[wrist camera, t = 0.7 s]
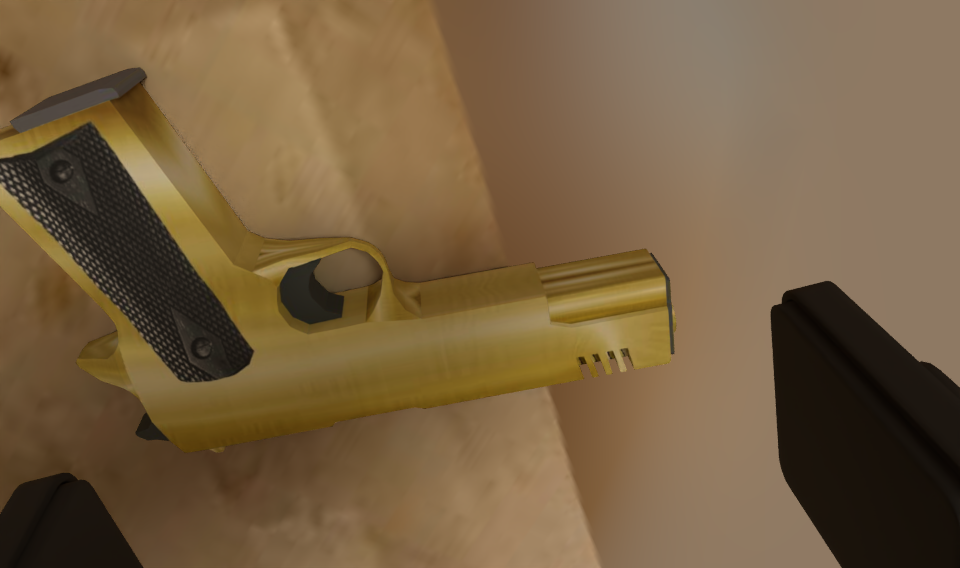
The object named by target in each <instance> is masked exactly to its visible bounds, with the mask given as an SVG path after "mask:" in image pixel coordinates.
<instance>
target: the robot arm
mask: <svg viewBox="0 0 960 568" xmlns="http://www.w3.org/2000/svg"><path fill="white" fill-rule="evenodd" d="M771 331H772V347H773V365H774V381H775V398H776V415H777V432H778V449H779V460H780V465H781V469H782V472H783V475H784V477H785V480H786V482H787V484H788V485H789V487H790V488H791V490H792V492H793V493H794V495H795V496H796V498H797V499H798V501H799V503H800V504H801V506H802V507H803V509H804V510H805V512H806V513H807V515H808V516H809V518H810V519H811V521H812V523H813V524H814V526H815V527H816V529H817V530H818V532H819V533H820V535H821V536H822V538H823V539H824V541H825V543H826V544H827V546H828V547H829V549H830V550H831V552H832V553H833V555H834V556H835V558H836V560H837V561H838V562H839V564H840V566H841V567H842V568H960V387H958V386H957V385H956V384H955V383H954V382H953V381H952V380H951V379H949V377H947V376H946V375H945V374H944V373H943V372H942V371H941V370H939V369H938V368H937V367H935V366H934V365H932V364H931V363H927V362H922V361H921V362H919V361H917V360H916V359H915V358H914V357H913V356H912V355H911V354H910V353H909V352H908V351H907V350H906V349H904V348H903V347H902V346H901V345H900V344H899V343H898V342H897V341H896V340H895V339H894V338H893V337H892V336H890V335H889V334H888V333H887V332H886V331H885V330H884V329H883V328H882V327H881V326H880V325H878V324H877V323H876V322H875V321H874V320H873V319H872V318H871V317H870V316H869V315H868V314H866V312H865V311H863V310H862V309H861V308H860V307H859V306H858V305H857V304H856V303H855V302H854V301H853V300H851V299H850V298H849V297H848V296H847V295H846V294H845V293H844V292H843V291H842V290H841V289H840V288H839V287H837V286H836V285H835V284H834V283H832V282H831V281H824V282H820V283H817V284H813V285H809V286H805V287H801V288H797V289H793V290H789V291H786V292H785V293H784V294H783V297H782V304H778V305H774V306H773V307H772V309H771ZM0 568H143V566H142V565H141V563H140V562H139V560H138V558H137V557H136V555H135V554H134V552H133V550H132V549H131V547H130V546H129V544H128V542H127V541H126V539H125V538H124V536H123V535H122V533H121V531H120V530H119V528H118V527H117V525H116V523H115V522H114V520H113V519H112V517H111V515H110V514H109V512H108V511H107V509H106V507H105V506H104V504H103V503H102V501H101V500H100V498H99V496H98V495H97V493H96V492H95V490H94V488H93V487H92V486H91V484H90V483H89V482H87V481H86V480H78V479H77V478H76V477H75V476H73V475H72V474H70V473H61V474H57V475H53V476H49V477H45V478H41V479H37V480H33V481H29V482H25V483H23V484H21V485H19V486H18V487H17V489H16V490H15V491H14V492H13V494H12V496H11V497H10V499H9V501H8V502H7V504H6V506H5V507H4V509H3V511H2V512H1V514H0Z"/></svg>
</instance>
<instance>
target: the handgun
mask: <svg viewBox="0 0 960 568" xmlns="http://www.w3.org/2000/svg"><path fill="white" fill-rule="evenodd" d="M145 77H146V74H145V72H144V71H143V70H142V69H141V68H131V69H126V70H123V71H121V72H118V73H115V74H112V75H110V76H107V77H104V78H101V79H99V80H96V81H93V82H90V83H87V84H85V85H82V86H79V87H76V88H74V89H71V90H68V91H65V92H62V93H60V94H57V95H54V96H51V97H49V98H47V99H45V100H44V101H42V102H40V103H39V104H37V105H36V106H34V107H32V108H31V109H29V110H27V111H26V112H24V113H23V114H21V115H19V116H18V117H16V118H15V119H13V120H11V121H10V123H11V124H12V125H10V126H7V127H5V128H2V129H0V206H1V207H2V208H3V209H4V210H5V211H6V212H7V213H8V214H9V215H10V216H11V217H12V218H13V219H14V220H15V222H16V223H17V224H18V225H19V226H20V227H21V228H22V229H23V230H24V231H25V232H26V233H27V234H28V235H29V236H30V237H31V238H32V239H33V240H34V241H35V242H36V243H37V244H38V245H39V246H40V247H41V248H42V249H43V250H44V251H45V252H46V253H47V254H48V255H49V256H50V257H51V258H52V259H53V260H54V261H55V262H56V263H57V264H58V265H59V266H60V267H61V268H62V269H63V270H64V271H65V272H66V273H67V274H68V275H69V276H70V277H71V278H72V279H73V280H74V281H75V282H76V283H77V284H78V285H79V286H80V287H81V288H82V289H83V290H84V291H85V292H86V293H87V294H88V295H89V296H90V297H91V298H92V299H93V300H94V301H95V302H96V303H97V304H98V305H99V306H100V307H101V308H102V309H103V310H104V311H105V312H106V314H107V315H108V316H109V317H110V318H111V319H112V321H113V322H114V323H115V326H116V329H117V331H116V332H114V333H112V334H109V335H106V336H104V337H101V338H99V339H96V340H93V341H91V342H88V344H87V345H86V346H85V347H84V348H83V350H82V351H81V353H80V355H79V357H78V359H77V361H76V364H77V365H78V366H79V367H80V368H81V369H83V370H84V371H86V372H88V373H89V374H91V375H93V376H94V377H96V378H97V379H99V380H101V381H103V382H106V383H109V384H112V385H115V386H118V387H121V388H123V389H126V390H128V391H130V392H131V393H132V394H133V395H135V396H136V397H137V398H138V399H139V400H140V401H141V402H142V404H143V406H144V408H145V410H146V413H145V414H144V416H143V418H142V420H141V422H140V424H139V426H138V428H137V430H136V432H135V433H136V435H137V436H138V437H140V438H143V439H145V440H155V439H157V440H166V441H171V442H172V443H173V444H174V445H176V446H177V447H178V448H179V449H181V450H182V451H183V452H184V453H188V452H195V451H202V450H212V451H214V452H216V453H218V452H224V450H225V447H226V446H230V445H236V444H241V443H246V442H252V441H257V440H262V439H268V438H273V437H278V436H284V435H289V434H294V433H300V432H305V431H310V430H316V429H321V428H326V427H332V426H333V425H334V423H335V422H339V421H344V420H349V419H355V418H360V417H366V416H371V415H376V414H382V413H387V412H392V411H398V410H403V409H409V408H414V407H417V408H423V409H426V408H432V407H437V406H442V405H448V404H453V403H458V402H464V401H469V400H475V399H480V398H485V397H491V396H496V395H501V394H507V393H512V392H517V391H523V390H528V389H533V388H539V387H544V386H549V385H555V384H560V383H566V382H571V381H576V380H582V379H584V377H583V374H582V371H581V369H580V366H579V365H582V364H587V365H588V367H589V370H590V372H591V375H592V377H597V376H598V373H597V370H596V368H595V365H594V363H593V362H598V361H601V363H602V365H603V368H604V370H605V372H606V374H607V375H608V374H612V371H611V368H610V365H609V362H608V360H609V359H614V358H615V360H616V362H617V364H618V366H619V369H620V371H621V372H624V371H627V370H626V367H625V364H624V362H623V359H622V357H624V356H628V357H629V359H630V361H631V363H632V365H633V368H634V369H640V368H645V367H651V366H657V365H662V364H667V363H670V361H671V354H674V332H675V331H676V318H675V312H674V309H673V305H672V303H671V290H670V280H669V277H668V276H667V274H666V273H665V271H664V270H663V268H662V267H661V266H660V264H659V263H658V261H657V260H656V258H655V257H654V255H653V254H652V253H649V252H648V251H647V249H641V250H635V251H630V252H624V253H619V254H613V255H608V256H603V257H597V258H592V259H586V260H580V261H575V262H569V263H564V264H558V265H553V266H548V267H542V268H536V267H535V264H534V262H532V263H527V264H521V265H516V266H510V267H505V268H499V269H494V270H488V271H483V272H477V273H471V274H466V275H460V276H455V277H449V278H444V279H438V280H433V281H427V282H422V283H415V282H404V281H401V280H398V279H395V278H394V277H393V275H392V273H391V272H390V270H389V268H388V265H387V262H386V259H385V257H384V256H383V254H382V253H381V252H380V250H379V249H377V248H376V247H375V246H374V245H372V244H370V243H369V242H366V241H362V240H359V239H355V238H351V237H346V238H316V239H304V240H292V241H288V240H277V239H267V238H263V237H261V236H258V235H256V234H254V233H251V232H249V231H247V229H246V228H245V227H244V225H243V224H242V223H241V221H240V220H239V218H238V217H237V216H236V214H235V213H234V211H233V210H232V209H231V207H230V206H229V205H228V203H227V202H226V200H225V199H224V198H223V196H222V195H221V194H220V192H219V191H218V189H217V188H216V187H215V185H214V184H213V183H212V181H211V180H210V178H209V177H208V176H207V174H206V173H205V172H204V170H203V169H202V167H201V166H200V165H199V163H198V162H197V160H196V159H195V158H194V156H193V155H192V154H191V152H190V151H189V149H188V148H187V147H186V145H185V144H184V143H183V141H182V140H181V138H180V137H179V136H178V134H177V133H176V132H175V130H174V129H173V127H172V126H171V125H170V123H169V122H168V121H167V119H166V118H165V116H164V115H163V114H162V112H161V111H160V109H159V108H158V107H157V105H156V104H155V103H154V101H153V100H152V98H151V97H150V96H149V94H148V93H147V92H146V90H145V89H144V87H143V86H142V85H141V83H140V81H141V80H143V79H144V78H145ZM348 248H355V249H359V250H362V251H366V252H368V253H369V254H370V255H371V256H372V257H373V258H374V259H375V260H376V261H377V262H378V263H379V264H380V266H381V268H382V270H383V274H382V279H381V280H379V281H378V282H376V283H374V284H372V285H370V286H366V287H362V288H357V289H353V290H348V291H343V292H338V293H329V292H328V291H327V290H326V289H325V288H324V287H323V286H322V285H321V284H320V283H319V282H318V281H317V280H316V279H315V277H314V273H313V271H314V269H315V268H316V266H317V265H318V264H319V262H320V260H321V259H322V257H325V256H328V255H331V254H334V253H337V252H339V251H342V250H345V249H348Z"/></svg>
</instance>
